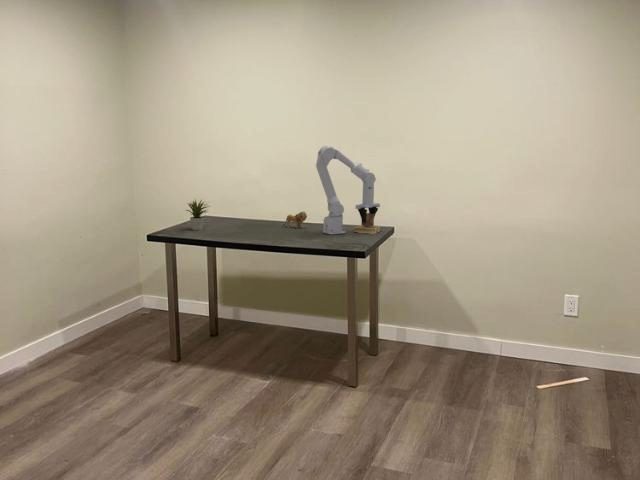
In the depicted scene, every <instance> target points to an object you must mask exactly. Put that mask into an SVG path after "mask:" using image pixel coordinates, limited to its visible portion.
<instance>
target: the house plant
mask: <svg viewBox="0 0 640 480" xmlns="http://www.w3.org/2000/svg"><path fill="white" fill-rule="evenodd" d="M205 203H206V204H205ZM209 203H210V204H211V202H206V201H203V199H201V200H199V203H197V200H196V198H194V200H192V201H191V202H186V204H187V205H188V207H189V208H190V209H191V210H189V209H185V210H184V211H185V212H186V211H187V212H190V214H191V215H192V216H191V217H190V218H189V219H190V223H191V228H192V230H193V231H201V230H203V227H204V219H205V218H204V217H203V216H202V215H203V214H206V212H207V213H208V212H209V210H210V209H208V208H210V207H211V205H208V204H209ZM206 208H207V209H206Z"/></svg>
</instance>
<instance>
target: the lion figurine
mask: <svg viewBox="0 0 640 480" xmlns="http://www.w3.org/2000/svg"><path fill="white" fill-rule="evenodd" d="M307 218H308V214H307V212H305V211H301V212H299V213H297V214H295V215H292V214H288V215H287V216H286V219H285V223H283V224H282V226H285V225H286V226H287V228H288V227H289V228H290V227H291V226H290V223H294V224H296V229H297V228H299V229H301V228H302V226H301V224H303V223H304V221H306V219H307Z"/></svg>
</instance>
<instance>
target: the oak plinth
mask: <svg viewBox="0 0 640 480" xmlns="http://www.w3.org/2000/svg"><path fill="white" fill-rule="evenodd" d="M353 228H354V229H353V230H354V232H358V233H357V234H366V233H369V235H377V232H378V233H379V232H380V231H381V225H374V226H363V225H361V224H359V225H357V226H355V227H353Z"/></svg>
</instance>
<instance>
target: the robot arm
mask: <svg viewBox="0 0 640 480" xmlns="http://www.w3.org/2000/svg"><path fill="white" fill-rule="evenodd" d="M332 160H338V161H339V162H341V163H342V164H343V165H345V167H346V166H347V167H348V168H349V169H350V172H351V173H352V174H353V175H355V176H356V177H358V178H359V179H360V180H361V181H362V200H361V202H362V203H360V204H355V209H356V210H357V211H358V213H359V215H360V220H361V223H362V222H364V223H365V222H366V213H371V214H374V218H375V216H376V214H377V212H378V211H379V208H380V207H381V203H378V202H374V201H375V200H374V196H375V182H376V180H377V178H376V175H375V174H374V173H373V172H370V170H369V169H367V168H365V166H363V164H362V163H359V162H354V161H352V160H351V159H350V158H349V157H347V156H346V155H345V154H343V153H342V152H341V151H340V150H338V149H336V148H334V147H333V146H328V145H323V146H321V148H320V149H319V150H318V152H317V159H316V163H315V167H316V170H317V173H318V176H319V179H320V182H321V185H322V187H323V191H324V193H325V196H326V202H327V210H328V212H329V213H328V215H327V216H325V217H324V218H323V224H322V225H323V231H322V233H324V234H328V235H340V234H346V233H347V231H343V229H344V228H343V227H344V225H343V224H344V223H343V222H344V221H343V219H344V215H343V213H344V210H345V207H344V205H343V204H342V203H341V201H340V199H339V198H338V196H337V192H336V191H335V187H334V184H333V181H332V179H331V175H330V172H329V170H328V165H329V163H330V162H331V161H332Z"/></svg>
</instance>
